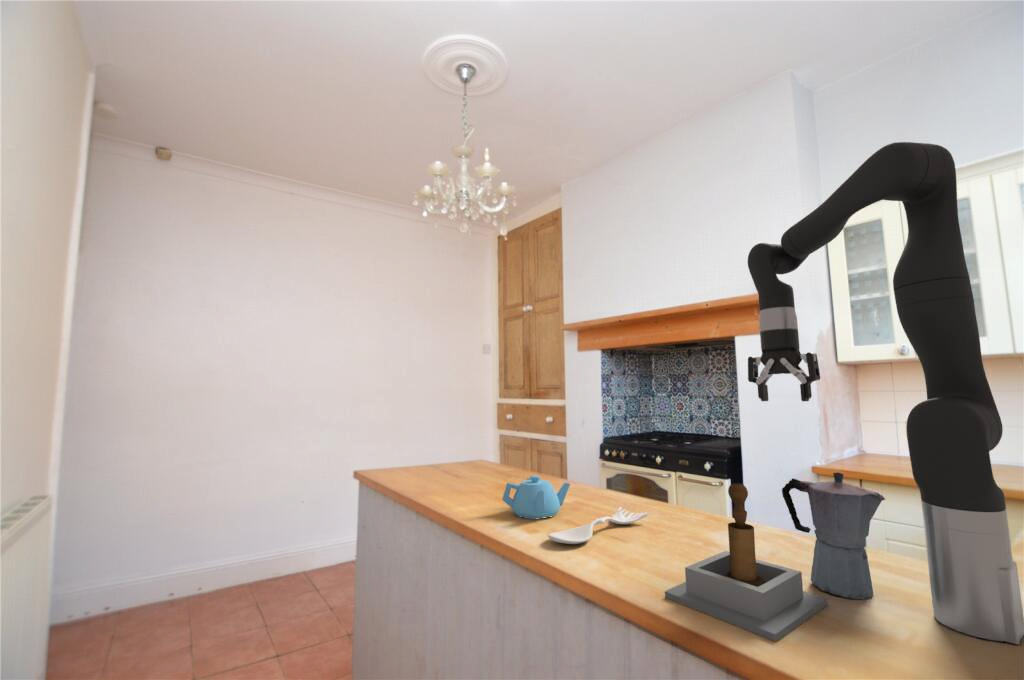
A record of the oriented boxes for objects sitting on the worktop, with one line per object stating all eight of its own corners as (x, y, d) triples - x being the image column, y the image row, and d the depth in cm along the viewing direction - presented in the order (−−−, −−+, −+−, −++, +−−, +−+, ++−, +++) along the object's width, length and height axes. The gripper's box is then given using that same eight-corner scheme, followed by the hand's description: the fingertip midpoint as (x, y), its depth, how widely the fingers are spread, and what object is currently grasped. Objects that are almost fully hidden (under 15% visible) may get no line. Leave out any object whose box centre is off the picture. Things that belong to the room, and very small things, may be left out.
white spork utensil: (649, 524, 123) (649, 510, 123) (569, 553, 102) (568, 537, 102) (621, 517, 130) (620, 505, 130) (540, 544, 109) (539, 528, 109)
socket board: (827, 604, 75) (824, 572, 76) (775, 641, 65) (773, 603, 65) (721, 571, 90) (719, 544, 90) (665, 597, 79) (663, 566, 80)
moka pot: (898, 610, 73) (884, 480, 75) (785, 588, 82) (776, 472, 84) (893, 589, 81) (881, 471, 83) (790, 570, 90) (782, 464, 92)
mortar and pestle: (773, 605, 73) (764, 488, 75) (729, 602, 75) (721, 487, 77) (759, 587, 80) (751, 480, 82) (719, 585, 81) (712, 479, 83)
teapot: (530, 505, 145) (529, 469, 146) (572, 512, 136) (571, 474, 137) (499, 515, 133) (498, 477, 135) (542, 524, 124) (541, 482, 125)
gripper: (820, 326, 102) (827, 401, 100) (754, 333, 113) (759, 400, 112) (805, 324, 98) (812, 402, 96) (739, 331, 109) (744, 401, 107)
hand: (784, 401), depth 104 cm, fingers open, 8 cm apart
